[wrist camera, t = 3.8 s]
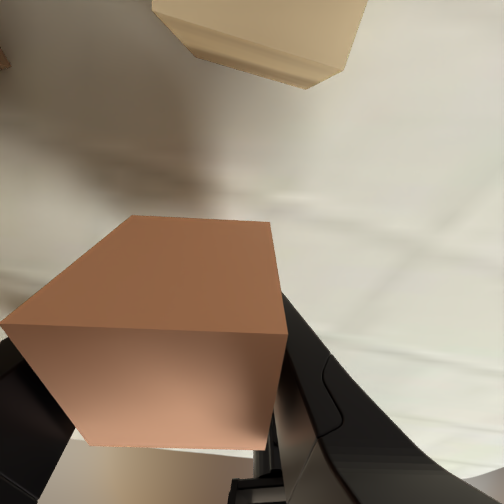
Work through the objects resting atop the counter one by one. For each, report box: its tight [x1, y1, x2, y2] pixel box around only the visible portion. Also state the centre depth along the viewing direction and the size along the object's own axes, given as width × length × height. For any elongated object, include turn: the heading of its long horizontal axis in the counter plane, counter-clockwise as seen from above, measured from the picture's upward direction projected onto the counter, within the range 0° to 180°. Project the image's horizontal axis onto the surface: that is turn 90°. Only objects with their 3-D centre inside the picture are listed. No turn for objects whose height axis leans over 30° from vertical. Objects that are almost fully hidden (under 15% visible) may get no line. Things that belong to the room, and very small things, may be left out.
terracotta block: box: [0, 215, 288, 450], centre depth 7 cm, size 5×5×5 cm
